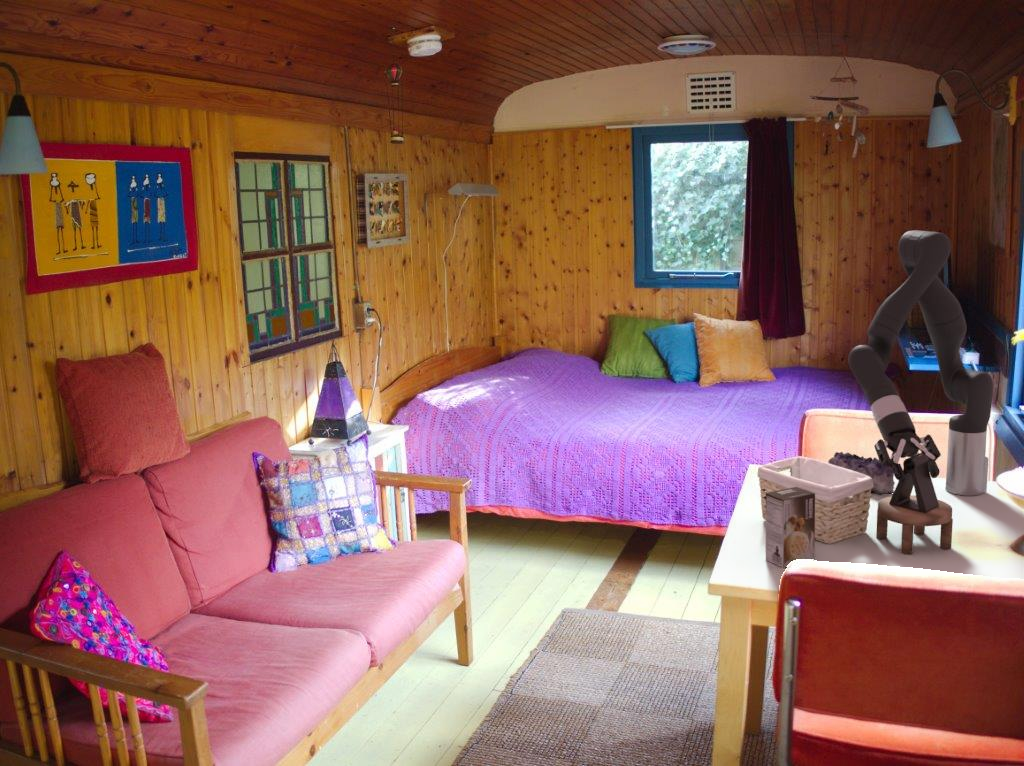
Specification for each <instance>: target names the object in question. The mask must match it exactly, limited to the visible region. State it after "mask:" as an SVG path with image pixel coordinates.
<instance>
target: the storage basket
mask: <svg viewBox="0 0 1024 766" xmlns="http://www.w3.org/2000/svg"><path fill="white" fill-rule="evenodd" d="M787 470H789V473H790V475H789V474H785V473H783V472H784V471H787ZM757 477H758V481H759V483H758V484H759V487H760V506H761V513H762V515H761V516H762V519H763V520H764V521H766V493H769V492H774V491H778V490H783V489H788V488H793V487H798V488H801V489H804V490H807V491H810V492H813V493H815V540H816V541H817V542H818V541H819V542H822V543H823V544H829V545H831V544H834V543H837V542H840V541H844V540H847V539H850V538H853V537H856V536H860V535H862V534H864V533H866V532H867V530H868V529H867V528H868V522H869V520H868V519H869V515H870V514H869V511H870V508H871V503H870V502H871V496H872V494H871V492H872V491H871V489H872V488H873V487H874V484H873V481H872V480H873V479H872V478H871V477H869V476H867V475H864V474H862V473H859V472H856V471H853V470H849V469H846V468H842V467H839V466H836V465H832V464H829V463H828V462H826V461H823V460H820V459H816V458H812V457H811V458H810V457H806V456H802V455H798V456H794V457H789V458H784V459H781V460H777V461H773V462H769V463H766V464H762V465H760V466H759V467H758V468H757Z"/></svg>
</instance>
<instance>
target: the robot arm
mask: <svg viewBox="0 0 1024 766" xmlns="http://www.w3.org/2000/svg"><path fill="white" fill-rule="evenodd" d="M951 250H952V243H951V240H950V238H949V237H948V236H947V235H946V234H944V233H943V232H937V231H929V230H917V229H916V230H915V229H914V230H908V231H906V232H904V233H903V234H902V236H901V237H900V239H899V242H898V247H897V251H898V256H899V257H898V258H899V260H900V263H901V265H902V267H903V269H904V271H905V273H906V275H907V277H908V278H907V279H906V280H905V281H904V282H903V283H902V284H901V285H900V286H899V287H898V288H897V289H896V290H895V291H894V292H893V293H891V294H890V295H889V296H888V297H887V298H886V299H885V300H884V301H883V302H882V303H881V305H879V307H878V309H877V311H876V312H875V314H874V316H873V318H872V320H871V323H870V324H869V326H868V328H867V332H866V333H867V336H868V343H867V344H859V345H857V346H855V347H853V348H851V351H850V352H849V354H848V358H847V359H848V361H847V362H848V365H849V368H850V371H851V372H852V374H853V376H854V377H855V378H854V379H856V382H858V384H859V386H860V388H861V389H862V391H863V393H864V395H865V398H866V401H867V403H868V405H869V407H870V409H871V413H872V416H873V419H874V421H875V423H876V425H877V428H878V430H879V433H880V434H881V436H882V438H883V439H878V440H877V442H876V443H875V444H874V447H873V448H874V449H875V452H876V455H877V457H878V458H877V459H878V460H880V463H881V465H882V466H883V467H885V466H889V467H890V468H891V469H892V471H893V474H894V477H895V479H896V480H897V481H898V482H902V481H904V480H905V478H906V476H905V474H904V471H903V467H902V464H901V463H900V462H899V461H900V459H905V458H906V457H908V458H910V457H912V456H915V455H917V454H919V453H921V455H923V454H925V455H927V457H928V460H929V461H928V470H929V473H930V476H931V479H935V478H937V477H938V476H940V473H941V472H940V468H939V467H938V464H937V460H938V459H939V458H940V457H941V456H942V454H941V452H940V450H939V448H938V447H937V444H936V443H935V441H934V439H933V437H932V435H930V434H926V435H925V436H923V437H922V436H921V437H920V436H919V435H918V434H917V433H916V427H915V425H914V422H913V420H912V418H911V415H910V414H909V412H908V409H907V408H906V405H905V403H904V402H903V401H902V399H901V397H900V395H899V393H898V391H897V389H896V387H895V385H894V383H893V382H892V380H891V379H890V378H889V377H888V376H887V374H886V373H885V372H886V370H887V368H888V365H889V364H890V361H891V356H892V353H893V351H894V345H895V341H896V339H897V338H898V336H899V334H900V332H901V330H902V328H903V326H904V324H905V323H906V320H907V319H908V317H909V315H910V314H911V311H913V309H914V307H915V306H916V305H917V303H918V305H919V308H920V311H921V313H922V316H923V321H924V323H925V326H926V327H925V328H926V329H927V334H928V335H929V337H930V341H931V343H932V346H933V350H934V354H935V357H936V359H937V360H936V361H937V365H938V370H939V373H940V379H941V384H942V385H941V386H942V388H943V391H944V395H945V396H946V397H947V399H949V400H950V401H952V402H954V403H960V404H964V405H966V406H965V410H964V413H963V414H956V415H953V416H951V417H950V418H949V420H948V439H947V457H946V475H945V476H946V478H945V490H946V491H947V492H949V493H950V494H954V495H960V496H969V497H970V496H979V495H981V494H983V493H987V492H988V491H987V490H988V488H987V487H988V476H989V475H988V472H989V457H987V456H986V449H987V448H986V446H987V433H988V432H987V431H988V425H989V422H990V418H991V413H992V412H991V411H992V405H993V404H992V403H993V397H994V381H993V378H992V376H991V375H990V374H989V373H988V372H985V371H981V370H975V369H970V368H966V367H965V365H964V364H963V361H962V357H961V353H960V350H961V346H962V344H963V342H964V339H965V338H966V334H967V327H968V326H967V322H966V318H965V314H964V311H963V309H962V306H961V303H960V301H959V300H958V299H957V298H956V296H955V295H954V294H953V292H951V290H950V289H949V288H948V287H947V286H946V285H945V283H943V281H942V280H941V279H940V278H939V276H938V274H940V272H941V270H942V269H943V268H944V265H945V264H946V262H947V261H948V259H949V257H950V254H951ZM888 450H890V451H891V452H892V453H891V456H890V455H889V452H888ZM919 451H920V452H919ZM921 455H919V456H921Z"/></svg>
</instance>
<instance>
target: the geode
mask: <svg viewBox="0 0 1024 766" xmlns="http://www.w3.org/2000/svg"><path fill="white" fill-rule="evenodd" d="M827 463H829V464H832V465H836V466H839V467H842V468H846V469H849V470H853V471H856V472H859V473H862V474H864V475H867V476H869V477H871V478H872V479H873V480H872V481H873V484H874V487H873V488H872V489H871V492H875V493H876V494H878V495H880V494H890V495H893V494H892V493H894V491H895V487H894V486H895V483H896V482H895V480H894V477H895V475H894V473H893V471H892V469H891V468H890V467H889V466H885V467H883V466H882V465H881V463H880V460H879V458H876V457H873V458H872V457H867V458H865V457H864V456H859V455H857V454H855V453H853V454H851V453H850V452H846V453H844V452H842V451H841V452H838V451H837V452H835V453H834V454H833V457H831V458H830V459H829V460H828V462H827Z"/></svg>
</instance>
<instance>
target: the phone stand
mask: <svg viewBox="0 0 1024 766" xmlns="http://www.w3.org/2000/svg"><path fill="white" fill-rule="evenodd" d="M918 453H919V454H917V455H915V456H912V457H908V458H906V459H905V458H904V460H903V463H902V465H903V467H902V469H903V471H904V474H905V476H906V478H905V480H904V481H902V482H899V481H898V482H897V484H896V487H895V488H894V490H893V491H894V493H893V494H892V495H891V496H892V498H891V500H890V503H889V504H890V505H893V506H897V507H902V508H906V509H907V508H908V509H910V510H914V511H919V512H923V513H926V512H928V511H930V510H932V509H934V508H936V507H938V506H939V503H938V500H939V499H938V497H937V494H936V490H935V487H934V484H933V483H934V482H933V480H932V477H931V475H930V473H929V470H928V461H929V460H928V457H927V455H925V454H923V455H921V452H918ZM919 455H921V456H919ZM913 488H914V492H915V496H916V498H917V500H913V499H910V495H911V494H912V493H913Z"/></svg>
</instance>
